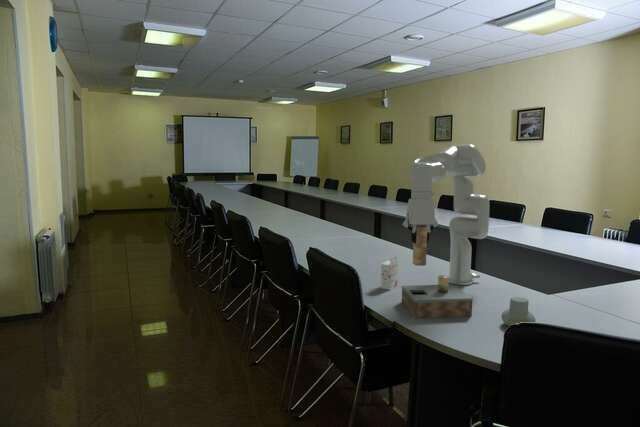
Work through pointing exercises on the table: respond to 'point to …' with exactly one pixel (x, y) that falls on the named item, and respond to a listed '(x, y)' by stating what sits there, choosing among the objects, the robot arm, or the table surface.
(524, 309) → the air freshener
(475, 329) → the table surface
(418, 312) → the toolbox
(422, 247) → the key peg
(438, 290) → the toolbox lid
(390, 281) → the ink cartridge box
